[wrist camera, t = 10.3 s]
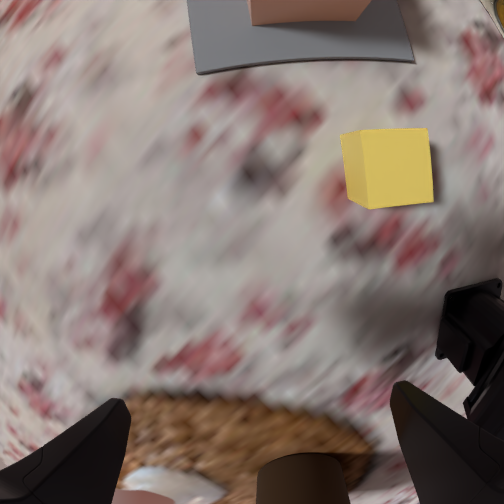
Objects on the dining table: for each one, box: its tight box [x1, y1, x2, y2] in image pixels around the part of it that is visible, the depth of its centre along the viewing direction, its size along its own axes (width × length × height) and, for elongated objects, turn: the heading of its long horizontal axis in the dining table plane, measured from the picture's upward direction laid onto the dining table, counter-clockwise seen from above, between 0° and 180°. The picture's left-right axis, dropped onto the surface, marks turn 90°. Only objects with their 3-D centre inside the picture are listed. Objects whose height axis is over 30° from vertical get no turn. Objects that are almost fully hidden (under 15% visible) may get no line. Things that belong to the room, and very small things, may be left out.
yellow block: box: [340, 128, 433, 209], centre depth 16 cm, size 4×4×4 cm
